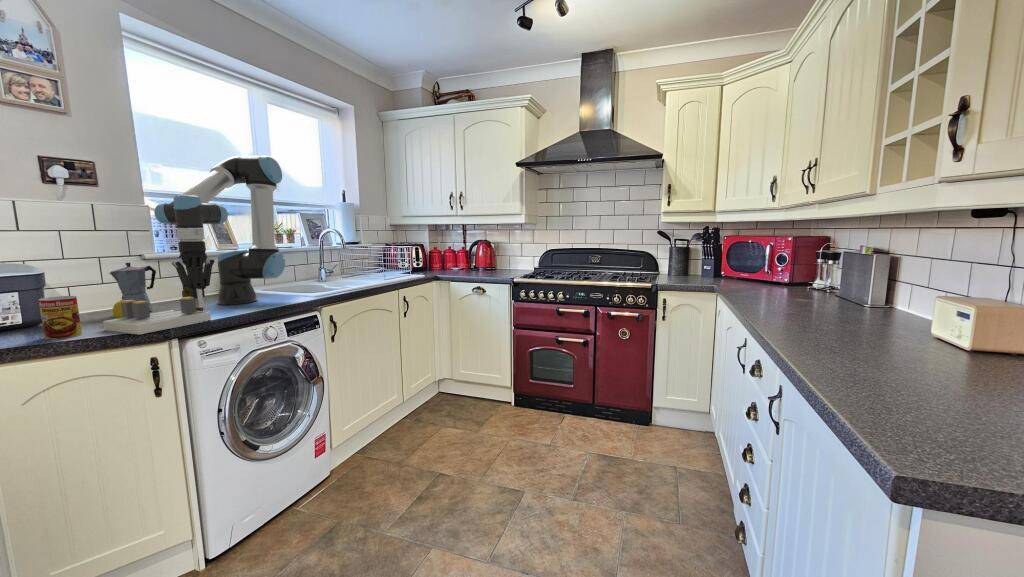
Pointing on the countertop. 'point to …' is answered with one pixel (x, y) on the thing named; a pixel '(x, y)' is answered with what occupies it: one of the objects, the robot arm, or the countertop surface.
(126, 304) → the knob far
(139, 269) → the moka pot
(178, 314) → the panel
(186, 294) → the condiment
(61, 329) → the canned food
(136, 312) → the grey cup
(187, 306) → the grey block
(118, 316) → the lemon
